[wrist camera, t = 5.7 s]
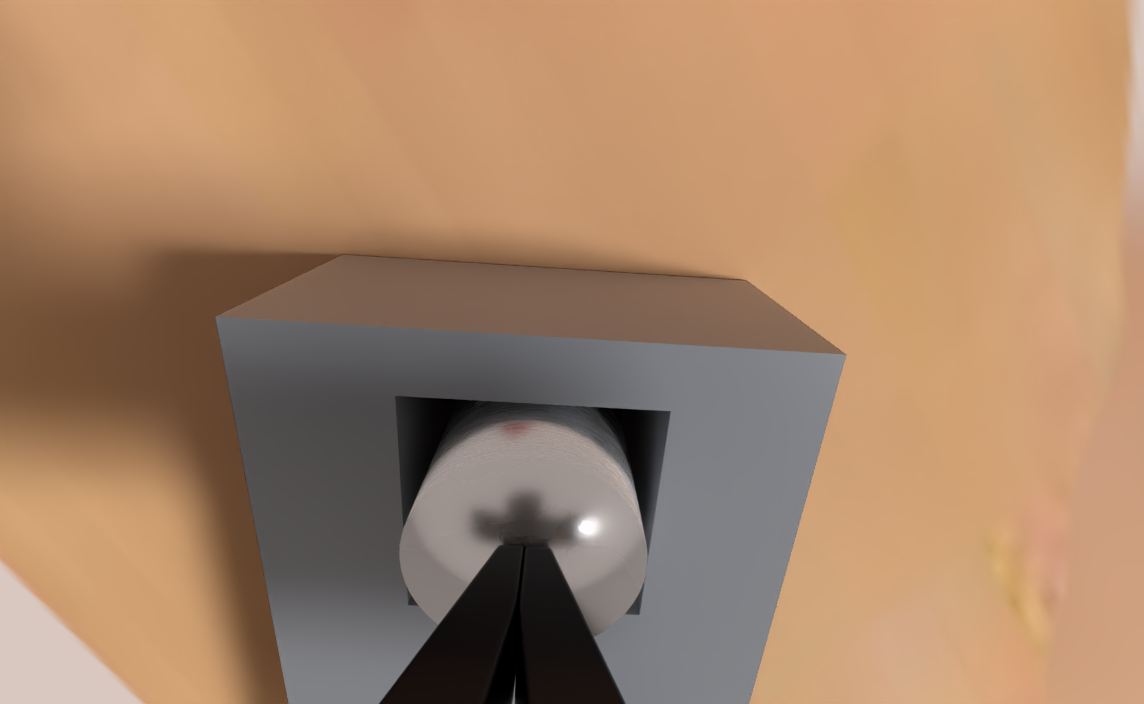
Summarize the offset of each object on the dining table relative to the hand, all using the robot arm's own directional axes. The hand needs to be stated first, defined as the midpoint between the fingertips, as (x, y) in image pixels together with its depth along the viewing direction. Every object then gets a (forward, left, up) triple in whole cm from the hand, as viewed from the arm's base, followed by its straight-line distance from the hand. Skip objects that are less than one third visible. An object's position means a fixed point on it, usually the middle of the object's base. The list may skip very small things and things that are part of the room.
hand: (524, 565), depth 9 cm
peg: (0, 0, -5) cm, 5 cm away
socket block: (-5, 0, -6) cm, 8 cm away
